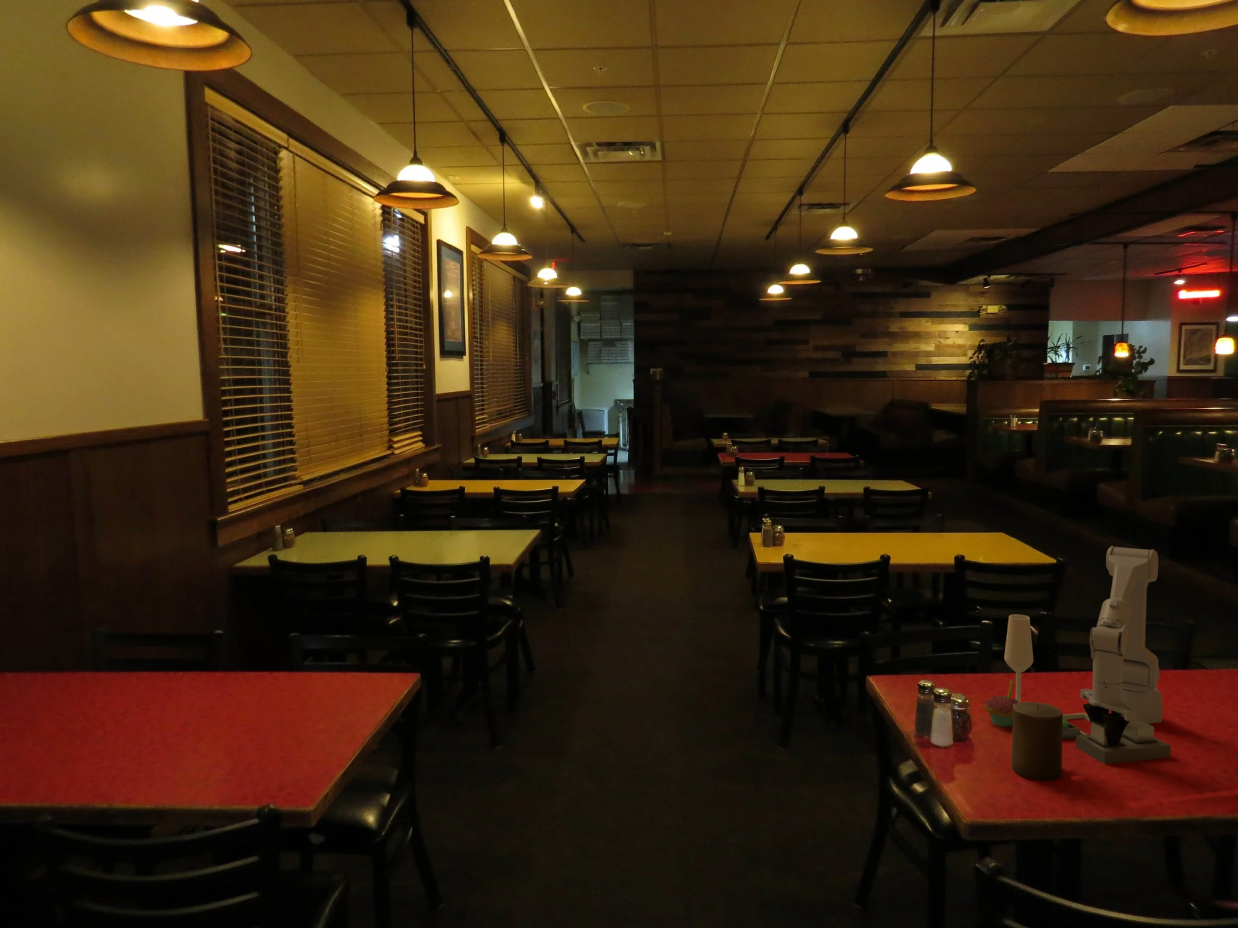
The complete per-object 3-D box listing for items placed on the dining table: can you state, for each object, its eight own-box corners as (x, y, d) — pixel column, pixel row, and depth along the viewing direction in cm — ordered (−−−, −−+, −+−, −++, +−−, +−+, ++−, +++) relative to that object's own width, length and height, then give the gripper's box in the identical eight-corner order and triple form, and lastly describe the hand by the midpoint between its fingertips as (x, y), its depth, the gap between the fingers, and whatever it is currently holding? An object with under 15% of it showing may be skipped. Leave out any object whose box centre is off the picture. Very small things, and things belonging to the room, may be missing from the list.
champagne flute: (1024, 703, 222) (1025, 613, 220) (1037, 713, 215) (1039, 619, 213) (998, 704, 221) (999, 613, 219) (1011, 714, 215) (1012, 620, 213)
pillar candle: (1059, 785, 176) (1061, 714, 175) (1008, 774, 181) (1009, 705, 180) (1063, 767, 184) (1065, 700, 183) (1014, 758, 190) (1015, 692, 188)
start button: (1061, 731, 202) (1061, 717, 202) (1071, 737, 199) (1072, 723, 198) (1047, 732, 202) (1047, 718, 201) (1057, 738, 198) (1057, 724, 198)
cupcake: (1020, 720, 210) (1021, 673, 209) (1024, 734, 202) (1025, 684, 201) (982, 717, 213) (983, 670, 212) (985, 730, 205) (986, 681, 204)
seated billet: (1139, 745, 192) (1140, 720, 192) (1153, 753, 188) (1153, 726, 188) (1123, 747, 192) (1124, 721, 191) (1136, 754, 188) (1137, 728, 187)
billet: (1106, 745, 191) (1107, 719, 190) (1119, 752, 187) (1120, 726, 186) (1090, 747, 190) (1091, 721, 190) (1103, 754, 186) (1104, 728, 186)
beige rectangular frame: (1083, 719, 210) (1084, 712, 210) (1126, 742, 196) (1126, 734, 196) (1050, 722, 209) (1050, 715, 208) (1090, 745, 195) (1091, 738, 195)
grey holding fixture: (1138, 744, 195) (1139, 729, 195) (1170, 760, 186) (1170, 745, 186) (1075, 750, 193) (1075, 735, 192) (1104, 767, 184) (1104, 751, 183)
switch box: (1062, 730, 204) (1062, 718, 203) (1079, 740, 198) (1080, 728, 197) (1039, 732, 203) (1039, 720, 202) (1056, 742, 197) (1056, 730, 197)
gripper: (1068, 671, 194) (1067, 729, 195) (1115, 693, 180) (1113, 755, 181) (1096, 669, 195) (1095, 726, 196) (1145, 690, 181) (1143, 752, 182)
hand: (1106, 740), depth 188 cm, fingers closed on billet, 4 cm apart
